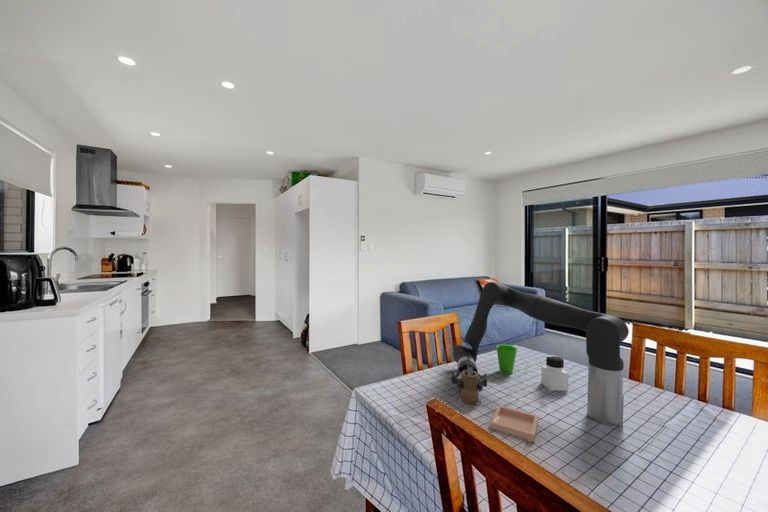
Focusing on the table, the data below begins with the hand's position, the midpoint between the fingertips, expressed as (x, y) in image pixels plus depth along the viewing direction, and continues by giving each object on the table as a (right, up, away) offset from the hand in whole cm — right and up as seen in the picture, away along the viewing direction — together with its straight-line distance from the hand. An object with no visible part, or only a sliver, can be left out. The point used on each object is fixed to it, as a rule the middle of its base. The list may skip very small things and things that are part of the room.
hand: (470, 387), depth 107 cm
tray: (+10, -7, -12) cm, 17 cm away
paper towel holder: (0, -7, +3) cm, 7 cm away
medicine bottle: (+38, -7, +16) cm, 42 cm away
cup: (+24, -6, +30) cm, 39 cm away
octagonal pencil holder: (0, -6, +3) cm, 6 cm away
